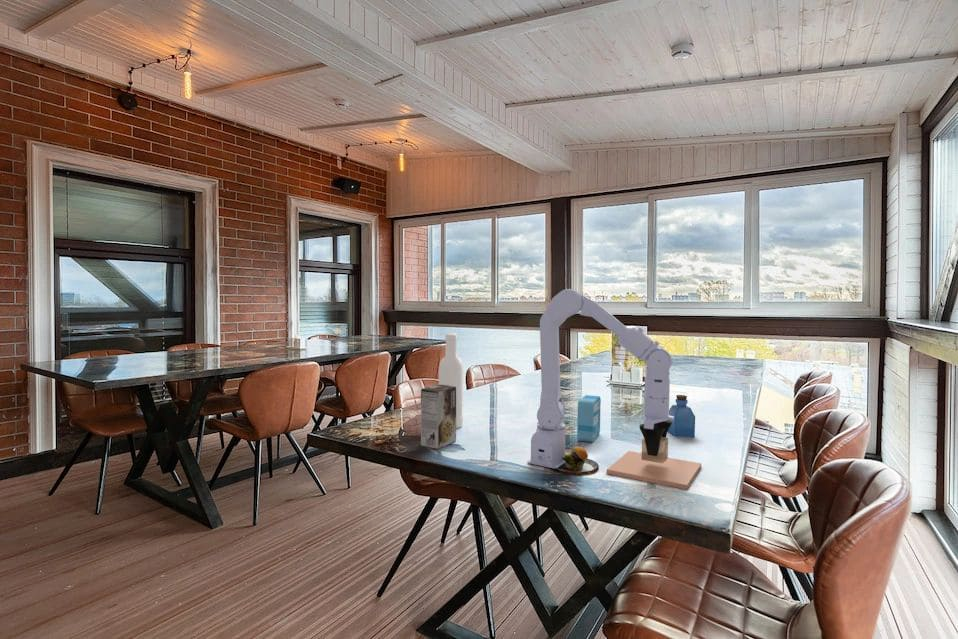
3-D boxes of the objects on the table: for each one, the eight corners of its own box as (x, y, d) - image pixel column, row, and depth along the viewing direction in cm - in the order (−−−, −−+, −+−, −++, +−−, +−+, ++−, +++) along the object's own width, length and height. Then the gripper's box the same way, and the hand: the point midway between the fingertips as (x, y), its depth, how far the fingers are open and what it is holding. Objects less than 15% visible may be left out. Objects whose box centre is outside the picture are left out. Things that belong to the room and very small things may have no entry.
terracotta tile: (686, 489, 110) (687, 485, 110) (606, 473, 120) (606, 469, 120) (701, 467, 125) (701, 463, 125) (628, 454, 135) (628, 450, 135)
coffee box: (438, 438, 149) (439, 384, 149) (456, 441, 146) (457, 386, 145) (419, 445, 141) (420, 388, 141) (438, 449, 138) (438, 390, 137)
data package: (592, 443, 145) (593, 402, 145) (576, 441, 147) (577, 401, 147) (600, 434, 156) (600, 395, 156) (585, 432, 158) (586, 394, 158)
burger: (559, 460, 133) (560, 432, 132) (604, 467, 127) (604, 438, 127) (542, 473, 122) (543, 443, 122) (590, 482, 117) (591, 450, 116)
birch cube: (662, 463, 119) (663, 442, 119) (641, 459, 122) (641, 439, 122) (667, 458, 123) (668, 437, 123) (647, 454, 126) (647, 434, 126)
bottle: (434, 428, 161) (435, 334, 160) (443, 422, 168) (444, 332, 167) (458, 430, 159) (459, 335, 158) (465, 424, 166) (467, 333, 165)
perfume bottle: (694, 436, 154) (695, 397, 154) (674, 436, 154) (675, 397, 154) (686, 431, 160) (687, 394, 160) (667, 431, 160) (668, 393, 160)
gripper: (667, 403, 114) (665, 463, 114) (680, 394, 126) (679, 448, 126) (635, 400, 118) (634, 457, 118) (651, 391, 130) (650, 443, 130)
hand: (655, 452), depth 122 cm, fingers closed on birch cube, 5 cm apart
